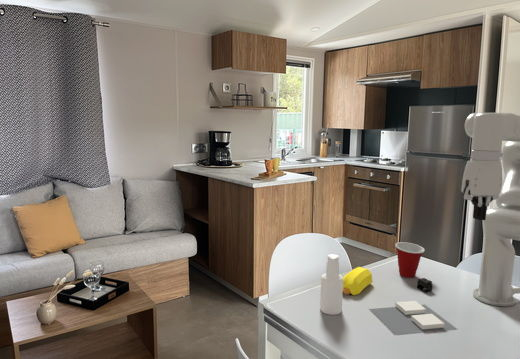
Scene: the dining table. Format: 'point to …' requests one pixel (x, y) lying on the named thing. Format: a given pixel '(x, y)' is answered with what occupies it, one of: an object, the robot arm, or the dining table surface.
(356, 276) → the yellow faceted bar
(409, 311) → the tile
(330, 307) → the spray bottle
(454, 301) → the dining table surface
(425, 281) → the black slotted bracket
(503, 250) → the robot arm
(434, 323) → the tile
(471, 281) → the dining table surface
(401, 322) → the mat
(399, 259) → the plastic cup
